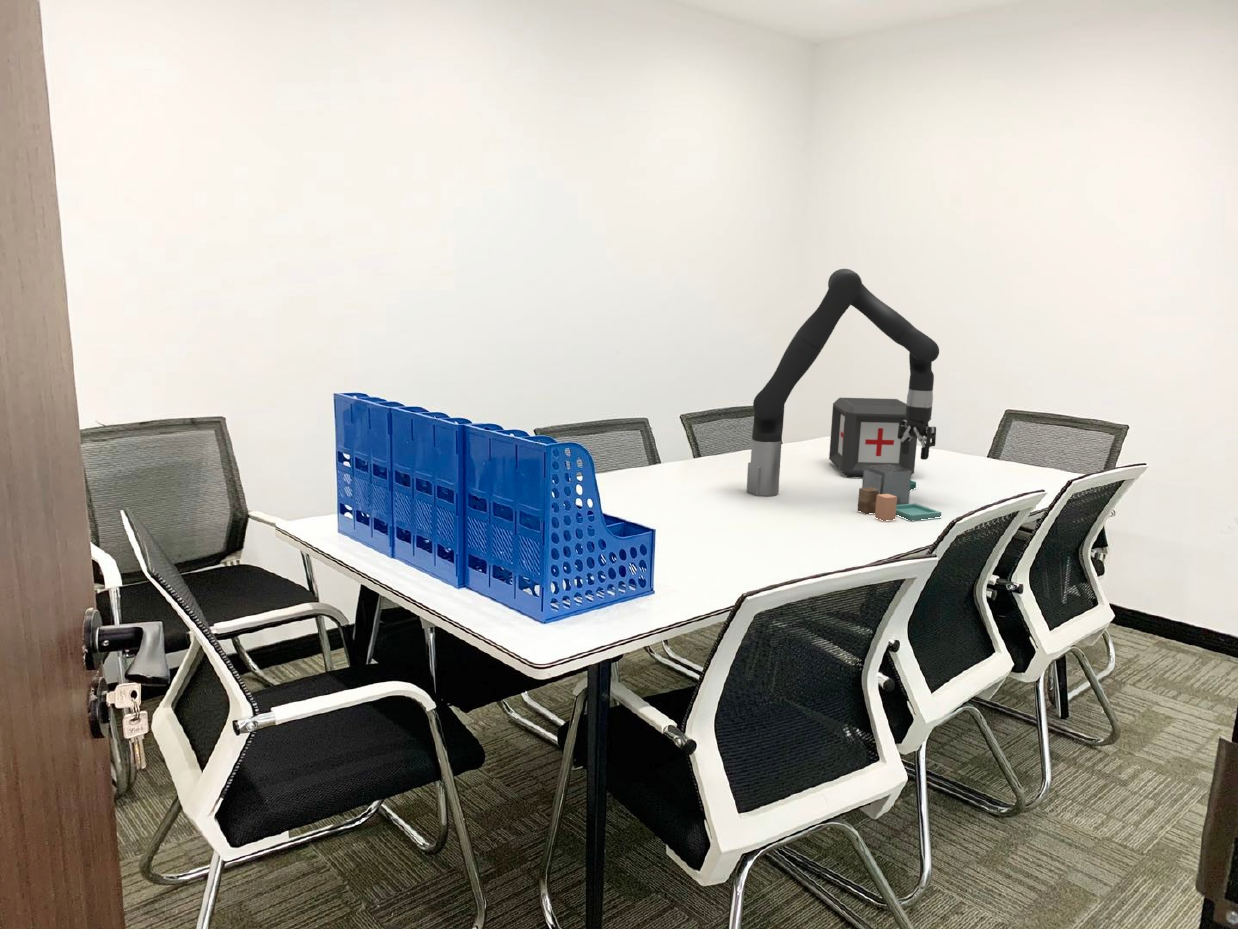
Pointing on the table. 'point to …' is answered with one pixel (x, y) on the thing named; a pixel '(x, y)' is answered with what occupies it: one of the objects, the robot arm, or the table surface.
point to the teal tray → (916, 512)
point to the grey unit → (888, 481)
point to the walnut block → (867, 500)
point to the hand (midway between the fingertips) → (914, 456)
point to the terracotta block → (885, 507)
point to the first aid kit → (868, 435)
